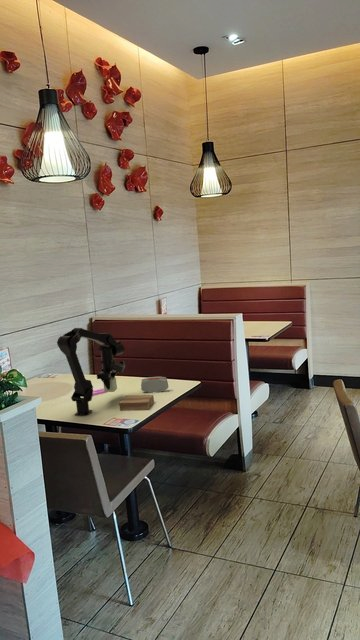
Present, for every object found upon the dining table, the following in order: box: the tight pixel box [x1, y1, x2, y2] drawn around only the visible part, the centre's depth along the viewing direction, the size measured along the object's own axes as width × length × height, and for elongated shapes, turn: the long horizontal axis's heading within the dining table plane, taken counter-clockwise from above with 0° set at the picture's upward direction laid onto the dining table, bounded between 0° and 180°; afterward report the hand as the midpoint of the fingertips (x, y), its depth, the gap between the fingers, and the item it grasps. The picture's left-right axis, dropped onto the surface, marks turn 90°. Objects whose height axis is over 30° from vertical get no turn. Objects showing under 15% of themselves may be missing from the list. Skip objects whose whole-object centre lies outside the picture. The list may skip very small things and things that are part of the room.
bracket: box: [92, 388, 108, 397], centre depth 278 cm, size 13×6×7 cm, turn 122°
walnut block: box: [118, 394, 155, 411], centre depth 250 cm, size 12×14×4 cm
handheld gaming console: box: [140, 376, 169, 394], centre depth 272 cm, size 14×3×8 cm, turn 88°
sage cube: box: [103, 377, 118, 393], centre depth 261 cm, size 5×5×6 cm
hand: (110, 387), depth 261 cm, fingers closed on sage cube, 5 cm apart
